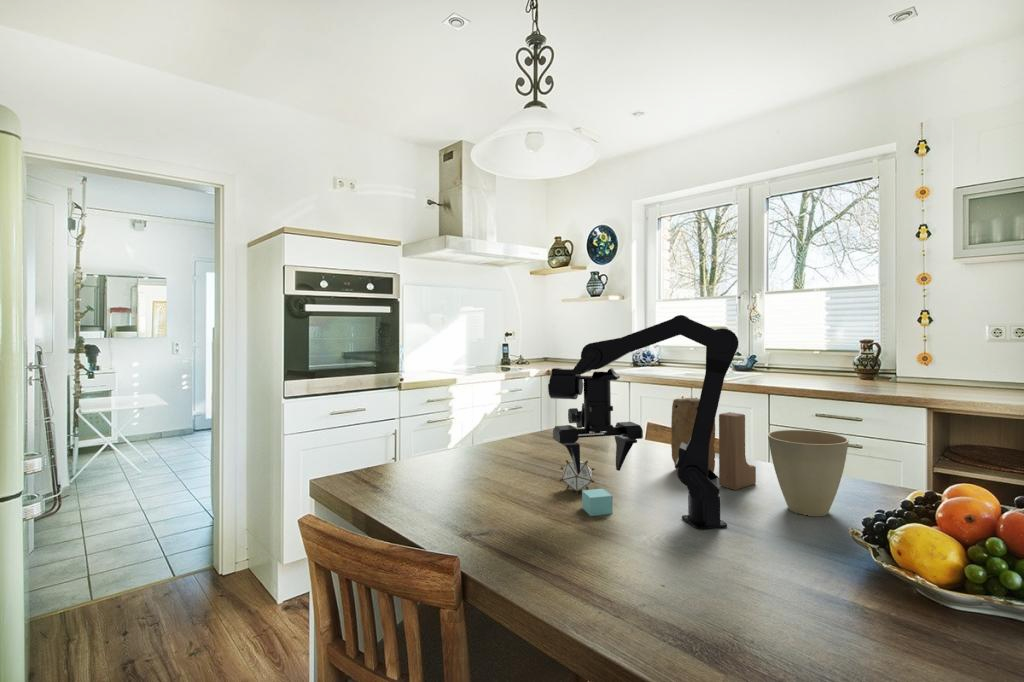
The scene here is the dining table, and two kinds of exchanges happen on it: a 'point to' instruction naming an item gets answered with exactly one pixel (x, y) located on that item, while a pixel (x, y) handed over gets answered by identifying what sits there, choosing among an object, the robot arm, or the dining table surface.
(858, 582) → the dining table surface
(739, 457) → the wooden block
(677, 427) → the wooden upright piece
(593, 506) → the teal block
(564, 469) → the game die
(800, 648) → the dining table surface
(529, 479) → the dining table surface
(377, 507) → the dining table surface
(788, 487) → the plant pot
